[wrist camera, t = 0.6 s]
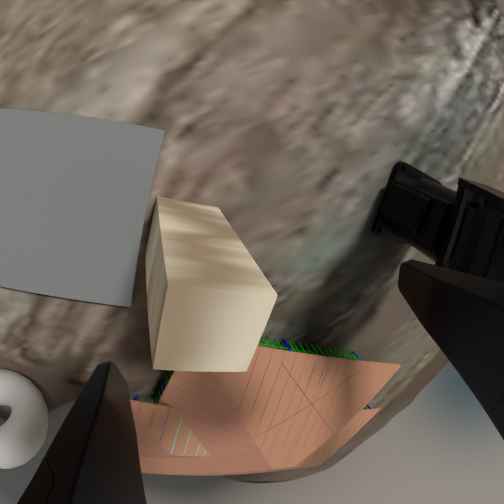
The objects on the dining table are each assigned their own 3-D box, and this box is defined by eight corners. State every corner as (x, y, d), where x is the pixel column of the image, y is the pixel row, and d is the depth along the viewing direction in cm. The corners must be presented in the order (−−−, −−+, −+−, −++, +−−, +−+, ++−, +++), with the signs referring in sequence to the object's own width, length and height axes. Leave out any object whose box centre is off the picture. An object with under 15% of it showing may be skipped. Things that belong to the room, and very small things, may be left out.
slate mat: (164, 130, 17) (164, 131, 16) (131, 303, 21) (131, 307, 20) (-13, 107, 12) (-16, 108, 11) (-17, 279, 16) (-19, 282, 16)
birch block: (218, 207, 20) (277, 295, 11) (203, 262, 21) (246, 371, 13) (156, 196, 18) (168, 283, 10) (145, 254, 20) (153, 369, 11)
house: (152, 295, 22) (161, 381, 15) (404, 350, 37) (440, 390, 30) (100, 444, 28) (104, 503, 21) (311, 449, 43) (332, 487, 36)
